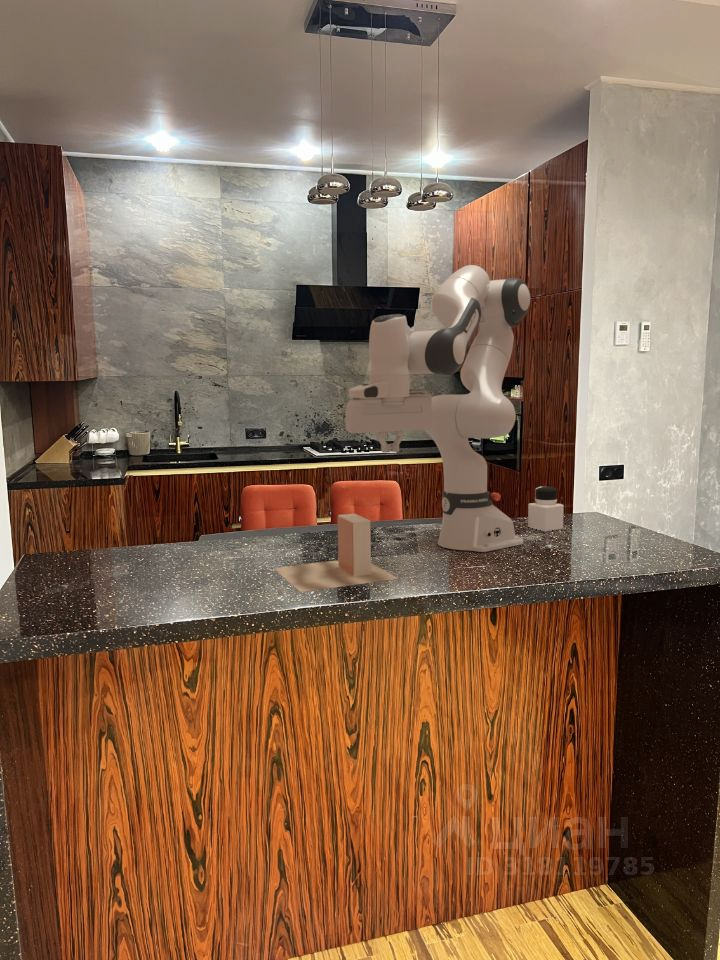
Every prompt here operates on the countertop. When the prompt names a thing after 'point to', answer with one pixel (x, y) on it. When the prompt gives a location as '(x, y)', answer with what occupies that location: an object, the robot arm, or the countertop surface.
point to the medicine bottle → (545, 510)
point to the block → (354, 544)
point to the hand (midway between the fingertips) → (390, 452)
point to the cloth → (328, 576)
